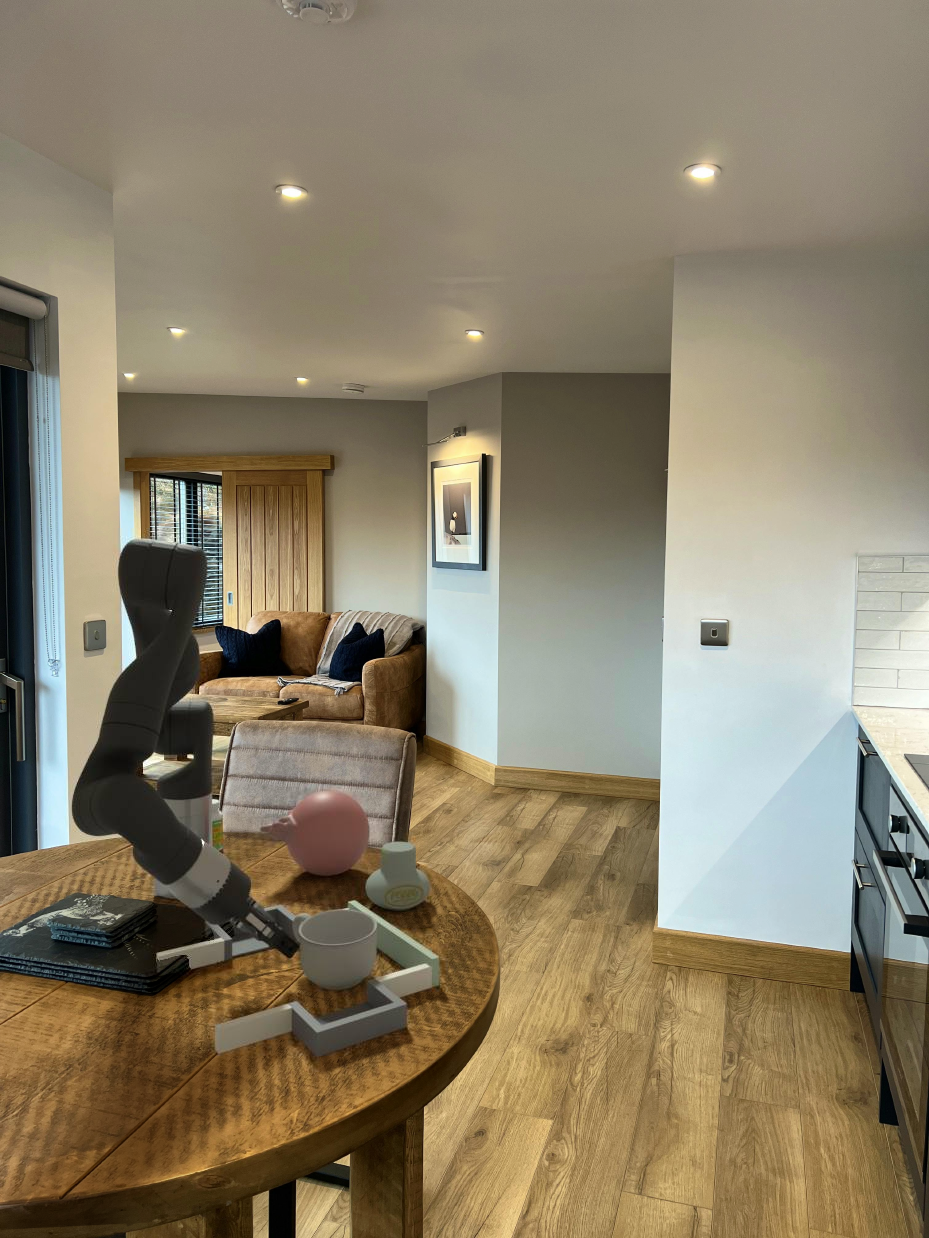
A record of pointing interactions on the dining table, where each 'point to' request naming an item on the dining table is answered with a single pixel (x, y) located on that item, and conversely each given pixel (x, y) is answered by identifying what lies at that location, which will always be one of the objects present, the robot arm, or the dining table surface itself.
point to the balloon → (324, 832)
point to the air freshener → (398, 879)
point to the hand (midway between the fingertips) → (292, 950)
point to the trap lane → (333, 1028)
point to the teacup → (336, 947)
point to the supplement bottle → (217, 826)
